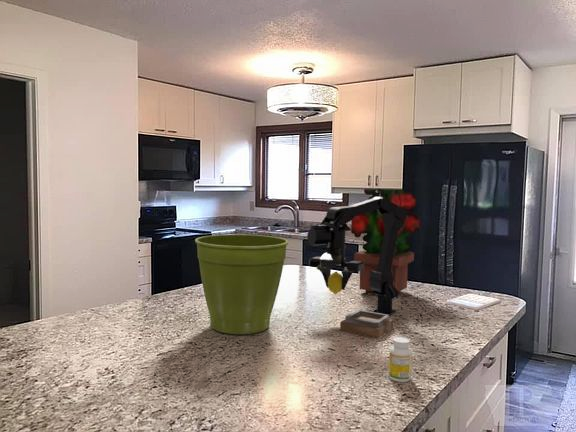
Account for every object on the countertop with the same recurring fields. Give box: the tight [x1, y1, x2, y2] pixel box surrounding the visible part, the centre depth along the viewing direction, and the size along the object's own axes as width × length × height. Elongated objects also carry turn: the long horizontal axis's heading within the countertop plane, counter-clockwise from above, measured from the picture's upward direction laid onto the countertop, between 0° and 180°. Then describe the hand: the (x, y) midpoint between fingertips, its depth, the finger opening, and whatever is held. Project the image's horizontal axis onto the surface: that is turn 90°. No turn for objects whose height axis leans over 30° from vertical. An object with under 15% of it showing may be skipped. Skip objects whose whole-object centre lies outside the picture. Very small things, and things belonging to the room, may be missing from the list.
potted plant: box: [350, 188, 420, 296], centre depth 208 cm, size 22×22×45 cm
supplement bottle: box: [388, 337, 413, 383], centre depth 118 cm, size 5×5×10 cm
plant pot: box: [194, 234, 289, 335], centre depth 156 cm, size 30×30×29 cm
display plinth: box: [339, 309, 394, 340], centre depth 157 cm, size 13×13×4 cm
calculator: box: [446, 293, 500, 311], centre depth 196 cm, size 13×20×2 cm, turn 132°
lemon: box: [327, 271, 343, 295], centre depth 167 cm, size 6×6×8 cm
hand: (335, 288), depth 167 cm, fingers closed on lemon, 5 cm apart
